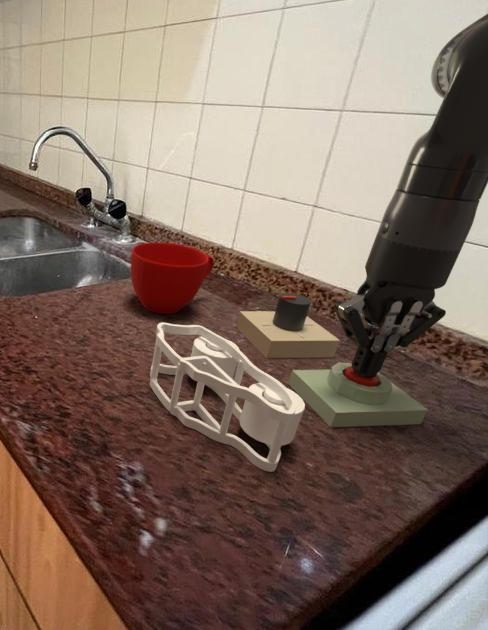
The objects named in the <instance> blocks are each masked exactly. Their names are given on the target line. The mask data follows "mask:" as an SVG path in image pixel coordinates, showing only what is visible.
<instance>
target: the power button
mask: <svg viewBox="0 0 488 630" xmlns="http://www.w3.org/2000/svg"><path fill="white" fill-rule="evenodd" d="M344 376H345V377H347V378H348V379H349V380H351V381H353V382H355V383H357V384H360V385H364V386H369V387H371V386H377V384H378V381H379V376H378V375H376V377H368V378H362V377H361V376H359V375H358V374H357V373H356V372H354V371H353V368H352V366H349V367H347V368H346V370H345V373H344Z"/></svg>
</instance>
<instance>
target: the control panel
mask: <svg viewBox="0 0 488 630" xmlns="http://www.w3.org/2000/svg"><path fill="white" fill-rule="evenodd" d="M274 314H275V311H267V310H265V311H263V310H262V311H255V310H254V311H252V310H249V311H243V310H242V311H241V310H240V311H239V314H238V317H237V321H236V324H235V328H236V329H237V330H238V331H239V332H240V333H241V334H242V335H243V337H245V338H246V340H248V341H249V342H250V343H251V344H252V346H253V347H255V348H256V349H257V351H258V352H260V353H261V354H262V356H263V357H265V359H307V358H308V359H312V358H313V359H315V358H318V359H321V358H326V359H327V358H335V356H336V352H337V351H338V347H339V344H340V342H341V339H339V338H337V337H336V336H335V335H333V334H332V333H331V332H329V330H326V329H325V328H324V327H322V326H321V325H320V324H318V323H317V322H316V321H314V320H313V319H311V318H310V317H309V316H308V315H307V317H306V320H305V323H304V326H303V329H302V330H300V331H289V330H285V329H282V328H279V327H277V326H276V325H274V324H273V318H274Z"/></svg>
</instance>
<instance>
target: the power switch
mask: <svg viewBox="0 0 488 630" xmlns="http://www.w3.org/2000/svg"><path fill="white" fill-rule="evenodd" d="M349 366H352V362H337V363H336V364H334V365H332V366H331V368H330V369H292V370H291V373H290V376H289V379H288V381H287V384H288V385H289V386H290V387H291V388H292V389H293V390H294V392H295V393H296V394H298V395H299V396H300V397H301V398H302V399H303V401H304V402H305V404H307V405H308V406H309V407H310V408H311V409H312V410H313V411H314V412H315V413H316V414H317V415H318V416H319V417H320V418H321V419H322V420H323V421H324V422H325V424H327V425H328V426H329V428H346V427H348V428H349V427H351V428H352V427H377V426H406V425H408V426H409V425H421V424H422V423H423V421H424V419H425V416H426V415H427V413H428V408H427V407H425V406H424V405H422V404H421V403H419V401H417V400H415V399H414V398H413V397H412V396H411V395H409V394H407V393H406V392H405V391H404V390H402V389H401V388H400V387H398V386H397V385H396V384H394V383H393V382H392V381H391V380H390V379H389V378H388V377H386V376H384V375H383V374H382V373H381V372H380V371H379V372H378V373H377V375H378V376H379V381H378V384H377V386H371V387H369V386H364V385H360V384H357V383H355V382H353V381H351V380H349V379H348V378H347V377H345V376H344V373H345V370H346V368H347V367H349Z"/></svg>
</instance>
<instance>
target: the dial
mask: <svg viewBox="0 0 488 630" xmlns="http://www.w3.org/2000/svg"><path fill="white" fill-rule="evenodd" d="M311 304H312V300H311V299H310V298H308V297H306V296H304V295H301V294H297V293H292V292H283V293H281V294H280V295H279V298H278V301H277V305H276V307H275V311H274V312H275V314H274V318H273V324H274V325H276V326H277V327H279V328H282V329H285V330H289V331H300V330H302V329H303V326H304V323H305V320H306V317H307V316H308V313H309V311H310V307H311Z"/></svg>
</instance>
